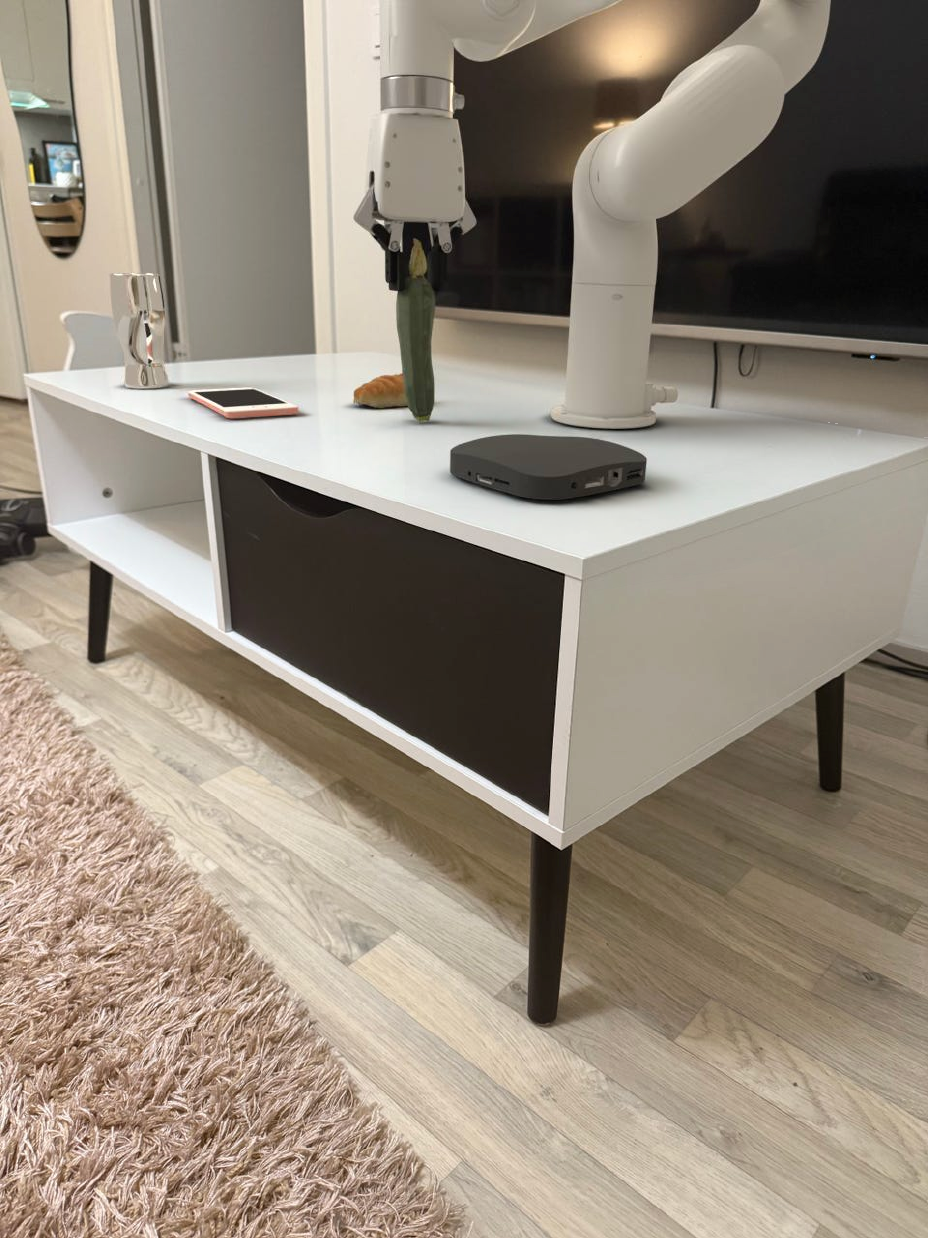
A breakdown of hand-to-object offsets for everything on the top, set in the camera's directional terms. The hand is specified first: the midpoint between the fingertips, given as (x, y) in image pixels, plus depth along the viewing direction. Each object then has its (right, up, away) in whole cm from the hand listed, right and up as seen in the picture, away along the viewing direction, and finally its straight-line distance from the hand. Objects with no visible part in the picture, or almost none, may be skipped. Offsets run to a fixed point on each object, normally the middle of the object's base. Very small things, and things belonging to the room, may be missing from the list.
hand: (416, 288), depth 100 cm
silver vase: (-40, -4, +29) cm, 49 cm away
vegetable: (0, -14, +6) cm, 15 cm away
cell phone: (-23, -10, +14) cm, 28 cm away
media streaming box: (+13, -24, -19) cm, 34 cm away
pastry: (-4, -9, +18) cm, 21 cm away
